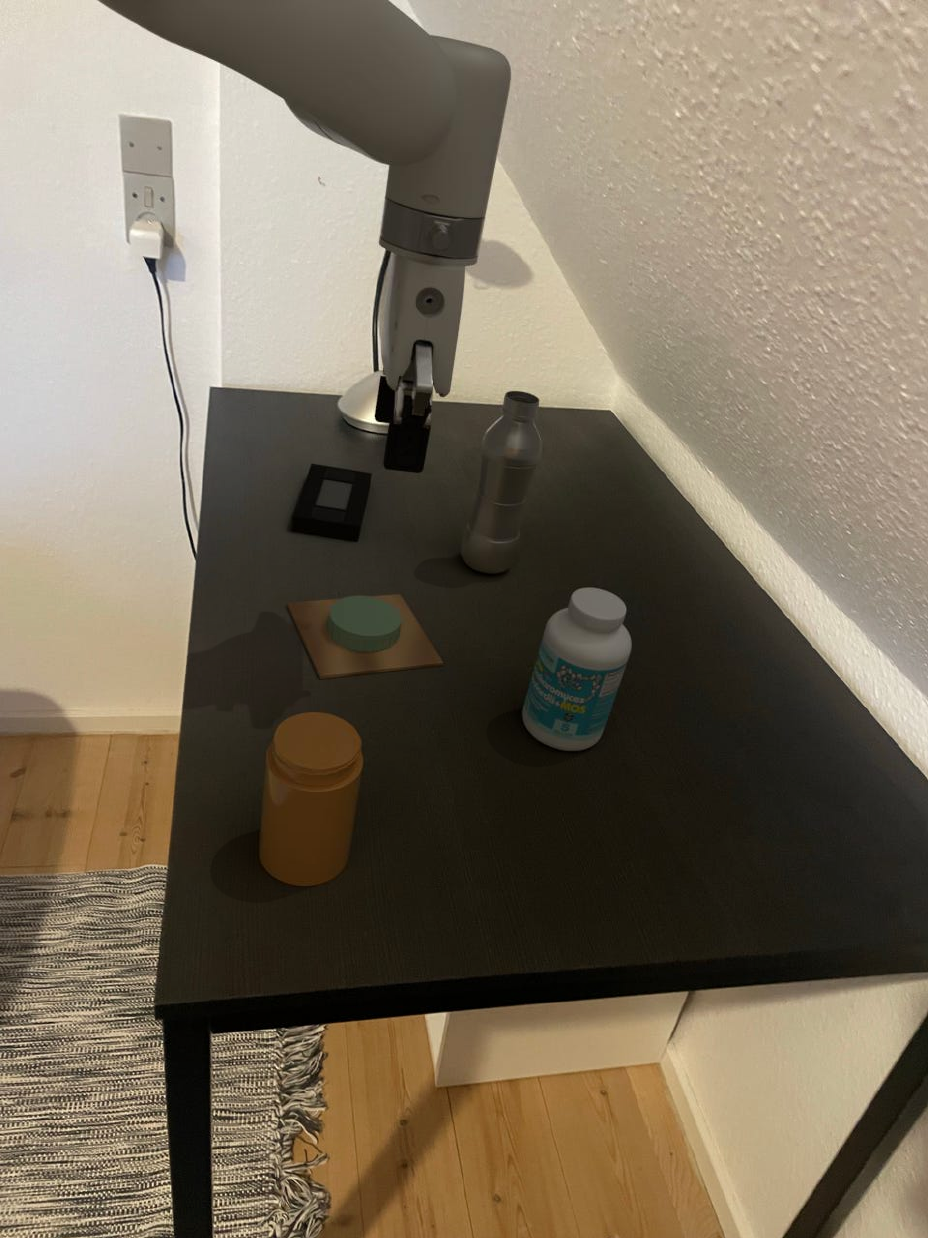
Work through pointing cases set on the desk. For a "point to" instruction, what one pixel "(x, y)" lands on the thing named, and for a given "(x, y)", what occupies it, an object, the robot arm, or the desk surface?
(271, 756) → the jam jar
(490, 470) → the plastic bottle
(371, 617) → the jam lid
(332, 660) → the coaster
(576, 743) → the pill bottle
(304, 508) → the vhs tape
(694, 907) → the desk surface
